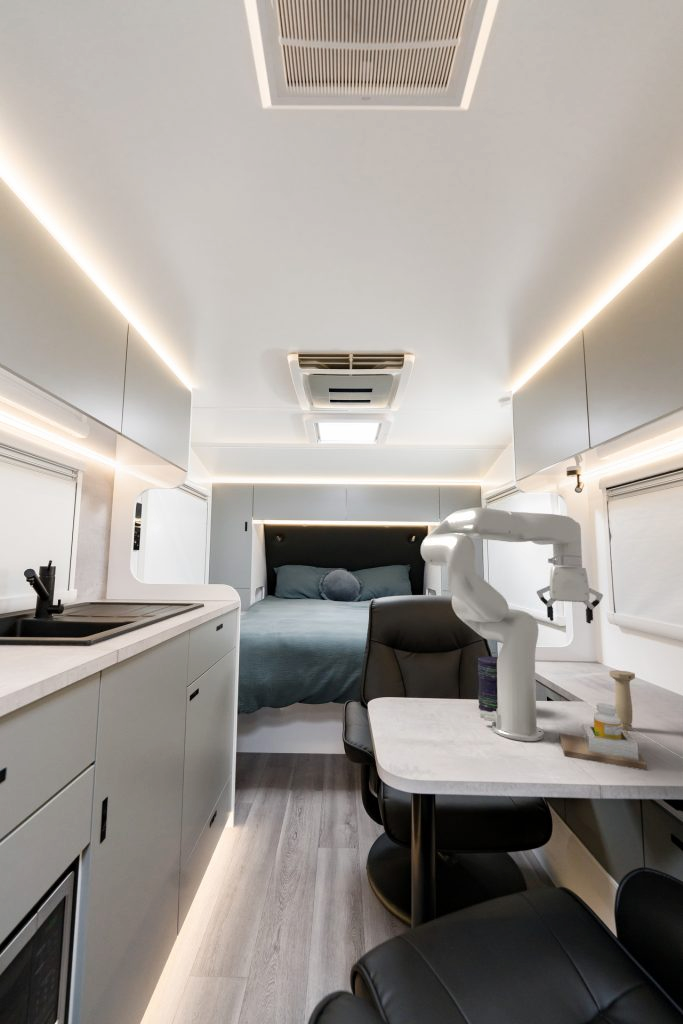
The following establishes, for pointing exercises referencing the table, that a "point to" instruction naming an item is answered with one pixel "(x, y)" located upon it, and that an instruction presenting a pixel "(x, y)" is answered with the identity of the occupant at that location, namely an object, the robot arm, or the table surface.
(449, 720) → the table surface
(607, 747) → the socket
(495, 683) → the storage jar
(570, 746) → the mount plate
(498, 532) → the robot arm
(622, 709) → the handle
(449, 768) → the table surface
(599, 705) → the supplement bottle
